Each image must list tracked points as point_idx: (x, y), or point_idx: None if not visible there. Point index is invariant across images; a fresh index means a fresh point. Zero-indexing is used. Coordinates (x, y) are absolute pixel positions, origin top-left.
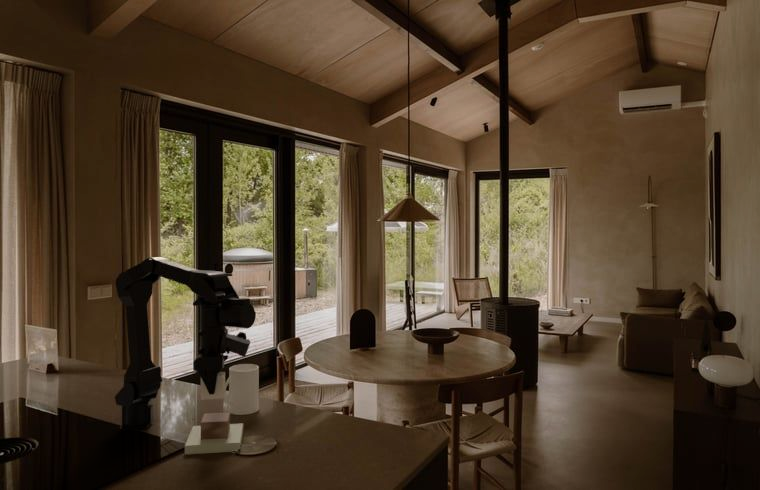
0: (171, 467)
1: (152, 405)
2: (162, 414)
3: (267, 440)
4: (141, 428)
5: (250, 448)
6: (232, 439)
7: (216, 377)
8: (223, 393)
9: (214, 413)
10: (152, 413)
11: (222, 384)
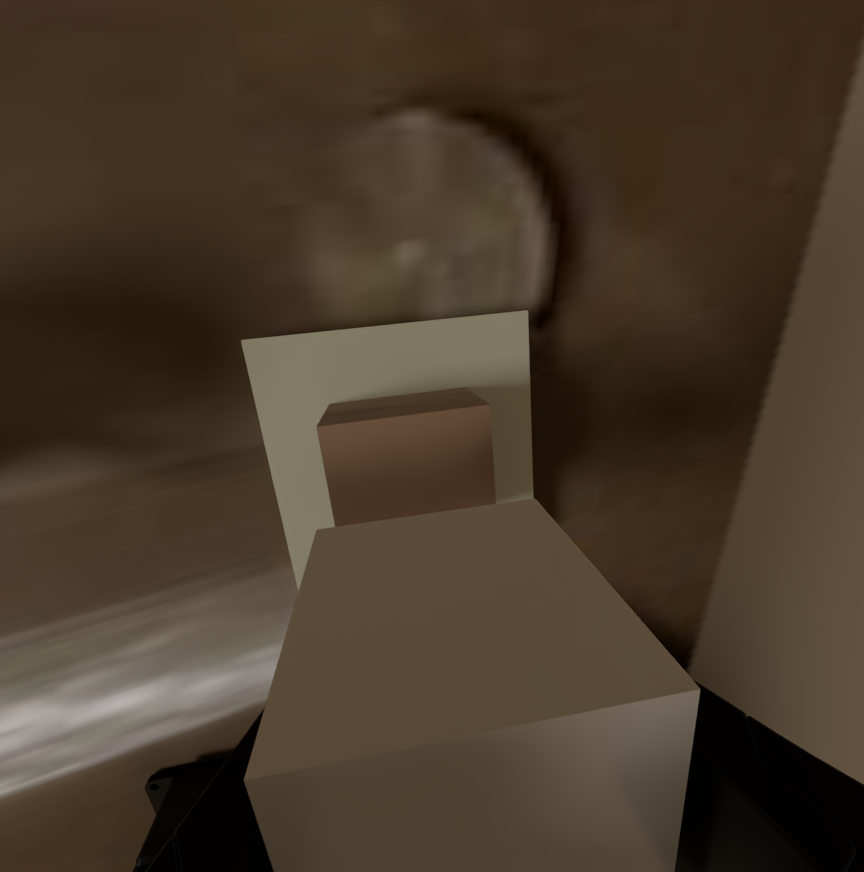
0: (621, 540)
1: (146, 859)
2: (61, 767)
3: (384, 174)
4: None
5: (484, 262)
6: (485, 357)
7: (854, 782)
8: (508, 523)
9: (343, 521)
10: (172, 809)
11: (617, 598)
